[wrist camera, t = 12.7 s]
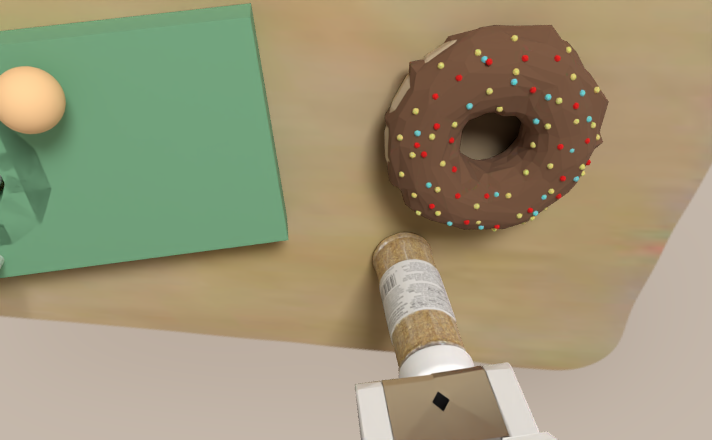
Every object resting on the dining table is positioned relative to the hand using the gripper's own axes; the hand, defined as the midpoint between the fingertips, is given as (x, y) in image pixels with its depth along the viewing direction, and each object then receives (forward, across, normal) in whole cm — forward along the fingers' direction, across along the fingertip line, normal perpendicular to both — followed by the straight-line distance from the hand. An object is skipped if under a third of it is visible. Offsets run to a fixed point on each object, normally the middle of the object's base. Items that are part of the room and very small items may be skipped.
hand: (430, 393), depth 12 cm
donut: (+30, -10, +9) cm, 32 cm away
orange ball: (+25, +16, +3) cm, 30 cm away
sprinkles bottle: (+29, -4, +20) cm, 36 cm away
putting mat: (+29, +16, +8) cm, 34 cm away
